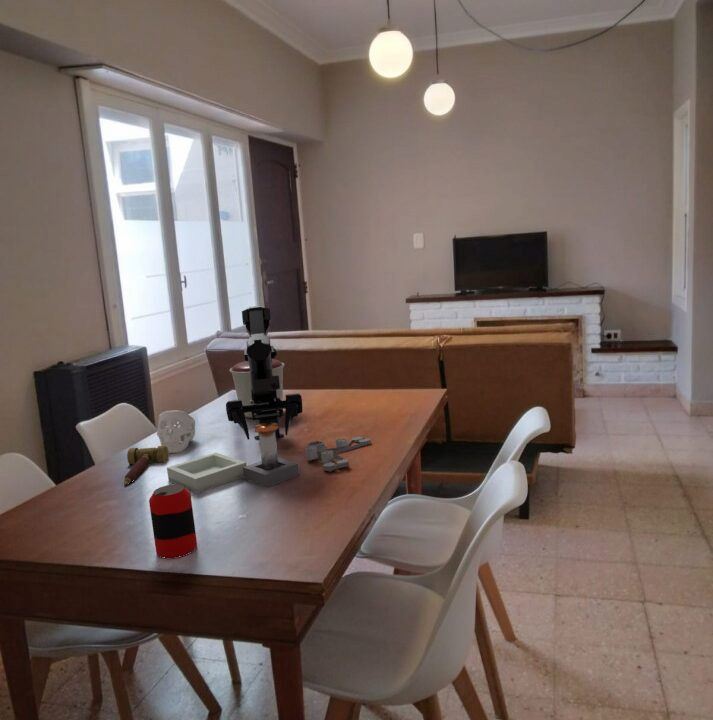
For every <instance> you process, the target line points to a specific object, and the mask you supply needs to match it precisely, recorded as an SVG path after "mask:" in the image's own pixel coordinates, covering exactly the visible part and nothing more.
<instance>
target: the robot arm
mask: <svg viewBox="0 0 713 720" xmlns="http://www.w3.org/2000/svg"><path fill="white" fill-rule="evenodd" d="M271 313H272V312H271V308H269V307H265V306H263V305H255V306H249V307H247V308H246V309H243V310H242V311H241V318H242V325H243V326H245V329H246V333H247V334H248V335H249V338H248V339H247V340H246V348H244V361H246V362H249V368H250V375H251V387H252V389H251V395H252V400H251V404H245V405H242V400H238V399H235V400H227V402H226V403H225V411H226V416H227V420H228V421H229V422H233V424H238V426H240V428H241V429H242V431H243V432H244V433H243V434H244V435H245V437H246V439H247V440H250V433H249V428H248V423H247V421H246V420H247V419H246V417H245V414H244V413H246V412H252V418H251V419H252V421H256V425H258V424H262V423H269V422H272V423H277V424H278V430H276V431H275V434H276V440H277V439H279V438H283V437H285V436H288V434H289V430H290V427H291V424H292V422H293V419H294V418H295V417H298V415H299V414H302V413H303V399H302V398H303V397H302V394H300V393H299V392H298V393H290V394H288V393H287V394H285V400H282V401H281V400H280V398H279V397H277V392H276V390H277V389H280V382H279V375H278V376H273V372H272V359H275V360H276V356H277V349H276V348H275V347H274V345H271V338H269V337H268V334H269V331H270V323H272V314H271ZM284 409H285V411H284ZM277 411H279V412H277ZM284 412H285V414H284ZM254 413H256V414H255V415H254ZM283 416H285V417H284V433H281V432H280V424H279V418H282V417H283ZM253 438H254V439H255V440H259V433H258V435H255V436H254V437H253Z"/></svg>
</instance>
